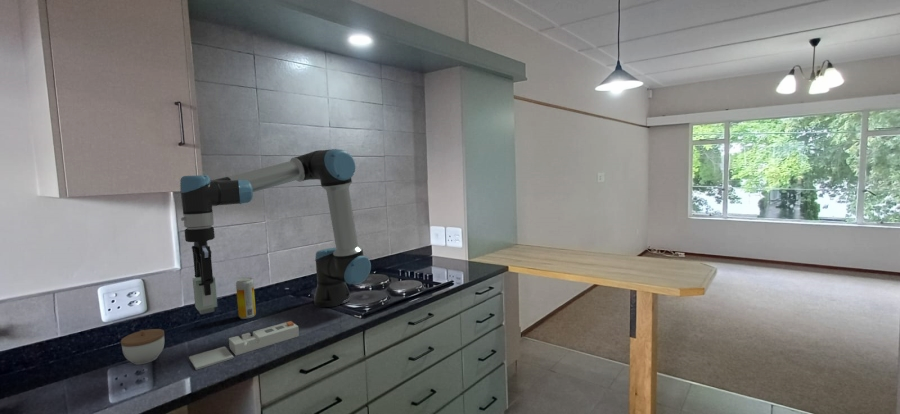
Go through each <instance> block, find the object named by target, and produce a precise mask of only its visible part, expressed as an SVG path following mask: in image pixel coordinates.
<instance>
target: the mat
mask: <svg viewBox="0 0 900 414" xmlns="http://www.w3.org/2000/svg"><path fill="white" fill-rule="evenodd" d="M232 359H234V355H233V354H232V353H231V351H229V348H227V347H226V346H225V345H224V346H221V347H217V348H215V349H211V350H207V351H203V352H200V353H196V354H193V355H190V356H188V360H189V361H190V362H191V364H192V366H193V367H194V369H195V370H196V371H197V370H200V369H203V368H207V367H209V366H213V365H216V364H220V363H223V362H226V361H228V360H232Z"/></svg>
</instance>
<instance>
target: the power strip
mask: <svg viewBox="0 0 900 414" xmlns="http://www.w3.org/2000/svg"><path fill="white" fill-rule="evenodd" d="M299 330H300V329H299V325H297V324H296V323H294V322H293V321H292V320H289V321H285V322H282V323H278V324H274V325H271V326H268V327H263V328H260V329H257V330H253V331H252V336H251V333H250V332H245V333H243V334H241V337H240V336H239V335H236V336H231V337H229V338H228V343H229V344H228V346H229V350H231V351H230V352H232V353H233V354H234V355H235V356H239V355H242V354H246V353H249V352H252V351H255V350H258V349H262V348H265V347H269V346H272V345H274V344H278V343H281V342H285V341H289V340H290V339H294V338H297V337H299V336H300V331H299Z"/></svg>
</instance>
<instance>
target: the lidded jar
mask: <svg viewBox="0 0 900 414" xmlns="http://www.w3.org/2000/svg"><path fill="white" fill-rule="evenodd" d="M120 345H121V349H122V350H121V351H122V354H123V356H124V358H125V359H126V360H127V361H128V362H131V363H132V364H134V365H145V364H149V363H152V362H153V361H155V360H157V359H158V357H159V355H160V354H161V353H162V351H163V350H164V347H165V331H164V329H161V328H160V329H159V328H151V329H142V330H141V329H140V330H139V331H135V332H133V333H130V334H128V335H126V336H124V337H122V338H121V340H120Z"/></svg>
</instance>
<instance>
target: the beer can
mask: <svg viewBox="0 0 900 414" xmlns="http://www.w3.org/2000/svg"><path fill="white" fill-rule="evenodd" d="M235 286H236V287H235V288H236V300H237V302H236V303H237V310H238V311H237V312H238V317H239V318H240V319H241V320H247V319H251V318H254V317H255V316H256V314H257V311H256V309H257V308H256V299H255V298H256V297H255V285H254V279H253V278H252V277H241V278H238V279H237V280H236V283H235Z"/></svg>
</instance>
